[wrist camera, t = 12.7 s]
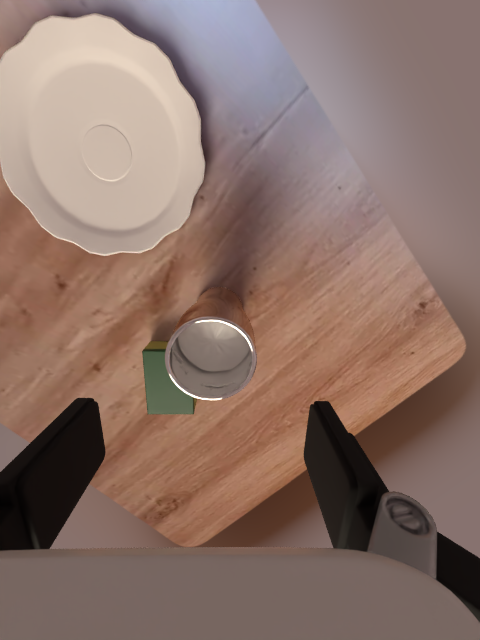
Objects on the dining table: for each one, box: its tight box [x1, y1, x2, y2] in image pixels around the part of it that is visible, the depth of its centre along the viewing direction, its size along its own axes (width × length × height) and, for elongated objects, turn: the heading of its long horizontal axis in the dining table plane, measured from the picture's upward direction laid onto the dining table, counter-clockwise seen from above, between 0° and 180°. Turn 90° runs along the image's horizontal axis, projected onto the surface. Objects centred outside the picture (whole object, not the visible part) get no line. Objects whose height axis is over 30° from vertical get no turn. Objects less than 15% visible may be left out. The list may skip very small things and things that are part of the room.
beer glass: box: [165, 287, 257, 400], centre depth 25 cm, size 7×7×15 cm
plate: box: [0, 13, 205, 256], centre depth 26 cm, size 21×21×2 cm
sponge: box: [142, 341, 197, 414], centre depth 32 cm, size 9×6×3 cm, turn 178°
